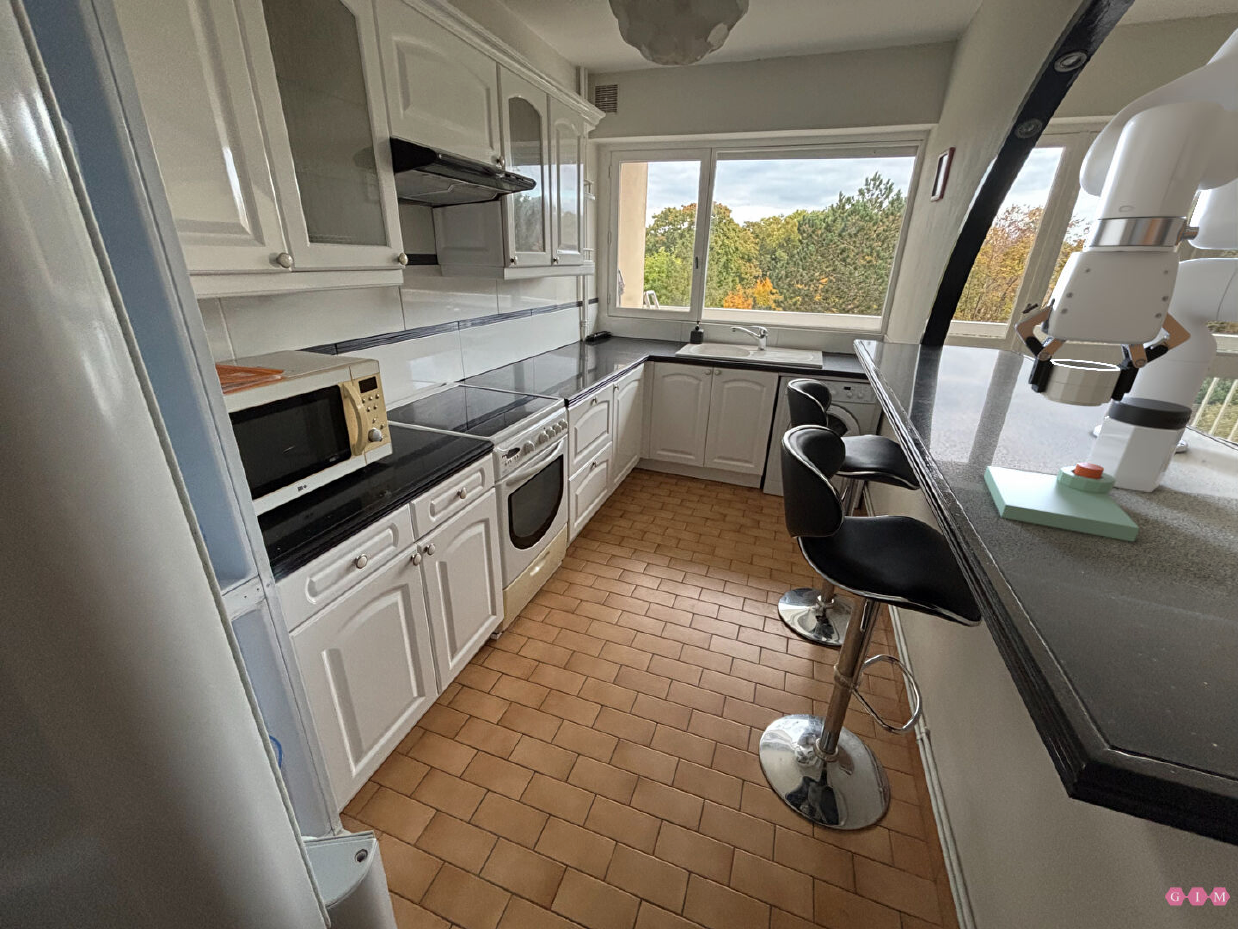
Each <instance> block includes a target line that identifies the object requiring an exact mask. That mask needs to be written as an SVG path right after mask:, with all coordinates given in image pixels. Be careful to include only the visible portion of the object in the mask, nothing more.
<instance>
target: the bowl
mask: <svg viewBox="0 0 1238 929" xmlns="http://www.w3.org/2000/svg"><path fill="white" fill-rule="evenodd" d="M1051 361H1052V362H1053V366H1052V369H1051V372H1050V375H1049V378H1048V381H1047V384H1046V387H1045V390H1044V392H1042V393H1039V394H1040V395H1041V396H1043V398H1044V399H1046V400H1048V401H1052V402H1055V403H1058V404H1063V405H1064V404H1065V405H1070V406H1078V407H1090V408H1091V407H1100V406H1102V405H1103V404H1109V403H1110V402H1111V400H1112V399H1111V398H1112V395H1113V393H1114V390H1115V388H1116V385H1117V383H1118V380H1119V378H1120V375H1121V372H1122V370H1123V369H1122V368H1120V367H1118V366H1117V365H1113V364H1107V363H1101V362H1093V361H1087V360H1074V359H1051Z"/></svg>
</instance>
